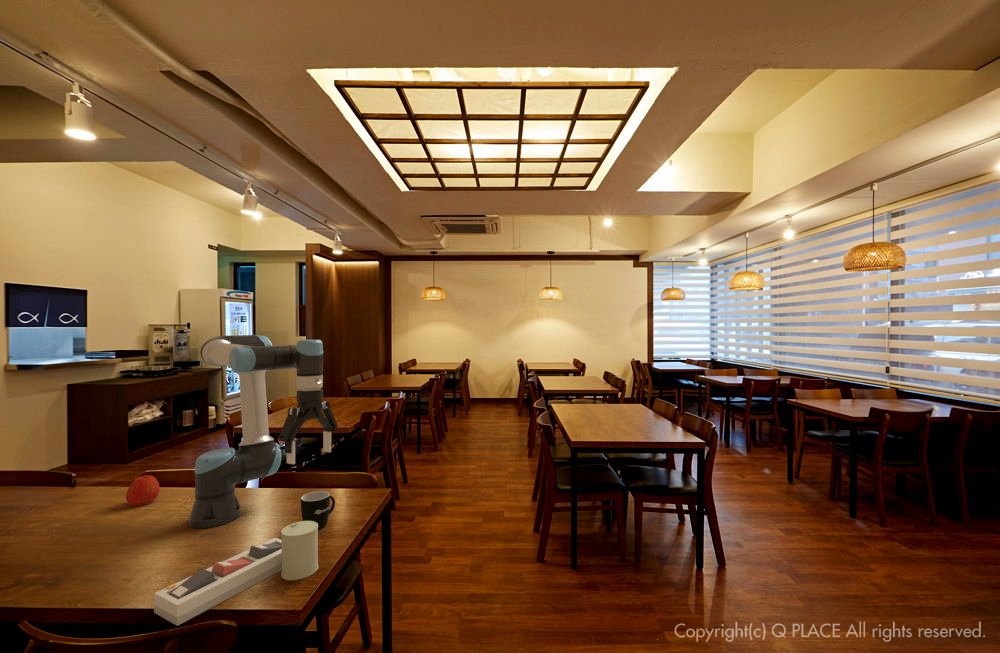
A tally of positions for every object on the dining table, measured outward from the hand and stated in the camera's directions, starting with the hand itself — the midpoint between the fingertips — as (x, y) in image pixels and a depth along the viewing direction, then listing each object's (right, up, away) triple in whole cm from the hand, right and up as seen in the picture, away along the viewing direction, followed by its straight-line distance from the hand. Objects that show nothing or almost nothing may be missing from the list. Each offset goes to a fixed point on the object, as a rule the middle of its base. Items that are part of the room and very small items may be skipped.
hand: (309, 457), depth 133 cm
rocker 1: (-14, -21, -32) cm, 40 cm away
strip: (-7, -25, -20) cm, 33 cm away
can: (+5, -26, -17) cm, 31 cm away
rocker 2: (-5, -21, -15) cm, 26 cm away
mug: (-2, -26, +11) cm, 28 cm away
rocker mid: (-9, -21, -23) cm, 33 cm away
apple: (-79, -28, +32) cm, 89 cm away
